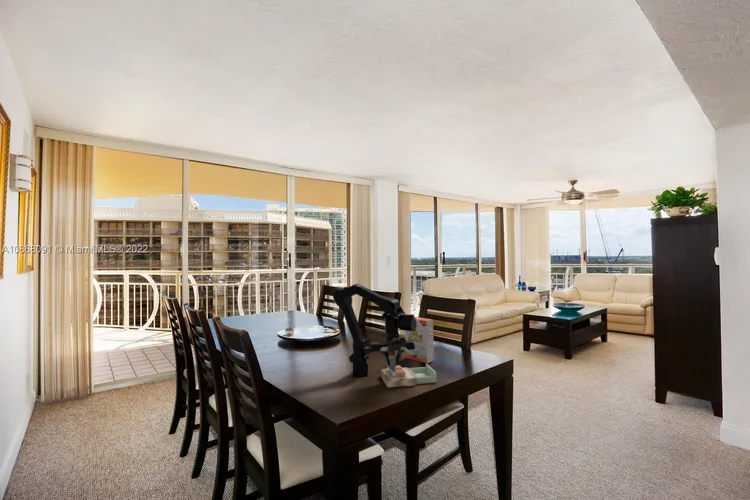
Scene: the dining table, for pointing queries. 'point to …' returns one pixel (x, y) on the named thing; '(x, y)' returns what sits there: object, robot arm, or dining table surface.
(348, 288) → the robot arm
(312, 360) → the dining table surface
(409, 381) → the board
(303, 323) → the dining table surface
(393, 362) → the scraper
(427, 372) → the tray
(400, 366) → the tile
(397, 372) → the tile
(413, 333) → the cracker box
